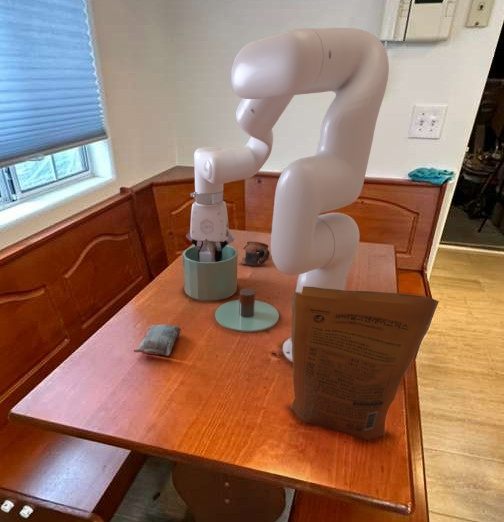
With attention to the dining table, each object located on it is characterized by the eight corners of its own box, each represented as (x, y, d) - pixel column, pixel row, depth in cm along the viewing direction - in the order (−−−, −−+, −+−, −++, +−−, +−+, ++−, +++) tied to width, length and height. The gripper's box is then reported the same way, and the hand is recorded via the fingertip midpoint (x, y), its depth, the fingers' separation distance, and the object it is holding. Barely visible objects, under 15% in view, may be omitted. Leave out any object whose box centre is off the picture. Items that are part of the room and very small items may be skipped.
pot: (230, 304, 114) (230, 265, 107) (177, 298, 119) (174, 260, 112) (242, 281, 126) (243, 245, 120) (193, 277, 131) (192, 241, 125)
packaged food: (134, 359, 94) (132, 342, 91) (149, 333, 103) (148, 316, 100) (170, 363, 92) (169, 345, 89) (182, 336, 101) (181, 319, 99)
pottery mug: (234, 263, 140) (239, 240, 139) (254, 269, 145) (259, 246, 144) (257, 265, 130) (263, 239, 129) (277, 271, 135) (283, 247, 134)
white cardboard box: (199, 271, 117) (199, 238, 111) (209, 263, 122) (208, 231, 116) (211, 273, 115) (211, 240, 110) (220, 265, 120) (220, 232, 115)
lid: (273, 338, 98) (275, 311, 94) (207, 329, 103) (206, 303, 99) (282, 306, 111) (285, 281, 107) (223, 300, 116) (224, 275, 112)
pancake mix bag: (390, 455, 66) (441, 307, 51) (277, 421, 74) (292, 284, 59) (393, 428, 71) (440, 286, 56) (287, 399, 79) (303, 267, 64)
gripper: (175, 200, 107) (179, 264, 117) (236, 202, 102) (235, 269, 112) (184, 193, 113) (187, 255, 123) (243, 195, 108) (241, 259, 118)
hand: (210, 261), depth 117 cm, fingers closed on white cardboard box, 4 cm apart
